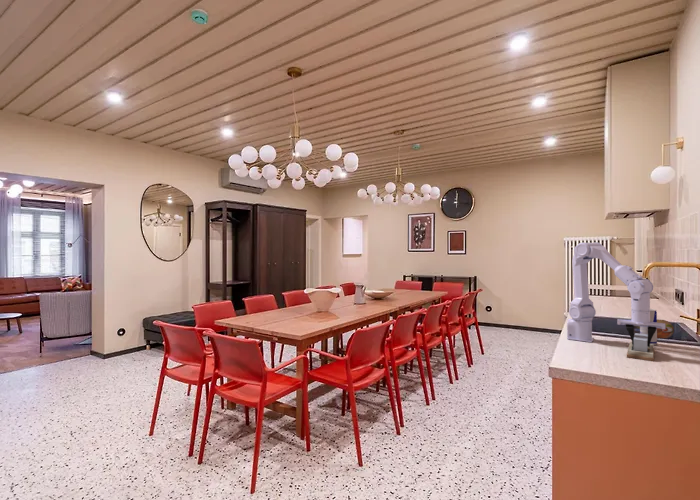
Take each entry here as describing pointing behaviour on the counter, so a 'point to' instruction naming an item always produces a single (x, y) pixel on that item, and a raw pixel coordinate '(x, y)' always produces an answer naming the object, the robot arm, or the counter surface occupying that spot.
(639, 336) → the grey box
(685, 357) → the counter surface
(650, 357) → the framed wooden panel
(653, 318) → the beverage can
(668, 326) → the tin
